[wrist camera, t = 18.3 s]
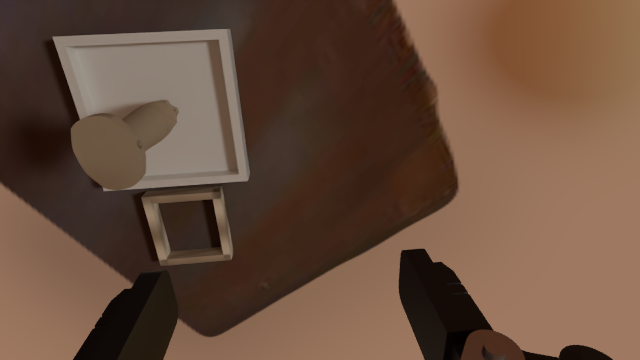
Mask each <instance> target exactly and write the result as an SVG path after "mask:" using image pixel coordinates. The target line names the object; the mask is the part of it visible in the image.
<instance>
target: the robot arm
mask: <svg viewBox="0 0 640 360" xmlns="http://www.w3.org/2000/svg"><path fill="white" fill-rule="evenodd" d="M400 259H401V260H400V274H399V294H400V299H401V302H402V305H403V308H404V310H405V313H406V315H407V317H408V320H409V322H410V324H411V327H412V329H413V332H414V334H415V337H416V339H417V342H418V344H419V347H420V349H421V351H422V354H423V356H424V359H425V360H613V359H612V358H610V357H609V356H607V355H605V354H603V353H602V352H600V351H598V350H595V349H593V348H590V347H587V346H581V345H570V346H567V347H565V348H563V349H562V350H561V352H560V355H559V358H557V357H552V356H546V355H541V354H535V353H530V352H526V351H523V350H521V349H520V347H519V346H518V345H517V344H516V343H515V342H514V341H513V340H511V339H510V338H508V337H507V336H505V335H503V334H501V333H499V332H496V331H494V330H493V329H492V328H491V326H490V324H489V323H488V322H487V320H486V319H485V317H484V316H483V314H482V313H481V311H480V310H479V308H478V307H477V305H476V304H475V302H474V301H473V299H472V298H471V296H470V295H469V294H468V292H467V290H466V289H465V287H464V286H463V285H462V284H461V282H460V280H459V278H458V277H457V276H456V274H455V273H454V271H453V270H451V269H450V268H449V267H447V266H446V265H444V264H443V263H442V262H435V263H433V262H432V260H431V258H430V257H429V255H428V254H427V252H426V250H425V249H413V250H403V251H402V252H401V258H400ZM177 320H178V304H177V300H176V297H175V293H174V290H173V286H172V282H171V279H170V275H169V273H168V271H167V270H159V271H147V272H142V273H140V275H139V276H138V278H137V280H136V281H135V283H134V285H133V286H132V288H131V289H124V290H123V291H122V292H121V293H120V294H118V295H117V296H116V297H115V298H114V299H113V300H112V301H111V302H110V303H109V305H108V306H107V308H106V309H105V311H104V312H103V314H102V317H100V319H99V320H98V322H97V323H96V325H95V328H94V329H92V331H91V332H90V334H89V336H88V337H87V339H86V340H85V342H84V343H83V345H82V346H81V348H80V350H79V351H78V353H77V354H76V356H75V357H74V359H73V360H163V358H164V356H165V353H166V350H167V348H168V345H169V342H170V340H171V337H172V334H173V332H174V329H175V326H176V324H177Z"/></svg>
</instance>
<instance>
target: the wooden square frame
mask: <svg viewBox="0 0 640 360" xmlns="http://www.w3.org/2000/svg"><path fill="white" fill-rule="evenodd" d="M141 199H142V202H143V206H144V209H145V213H146V216H147V220H148V223H149V227H150V230H151V234H152V237H153V241H154V244H155V248H156V251H157V255H158V258H159V262H160V265H161V266H165V265H176V264H188V263H200V262H212V261H224V260H231V259H232V255H233V247H232V241H231V235H230V230H229V224H228V218H227V213H226V207H225V201H224V196H223V190H222V185H221V186H207V187H193V188H179V189H165V190H152V191H146V192H145V194H144V195H143V196H142V197H141ZM208 199H213V204H214V209H215V214H216V219H217V225H218V230H219V235H220V240H221V246H222V247H215V248H203V249H191V250H179V251H171V250H170V247H169V243H168V239H167V235H166V232H165V228H164V224H163V220H162V217H161V213H160V209H159V205H158V203H168V202H181V201H195V200H208Z"/></svg>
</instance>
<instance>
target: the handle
mask: <svg viewBox="0 0 640 360" xmlns="http://www.w3.org/2000/svg"><path fill="white" fill-rule="evenodd" d="M178 113H179V110H178V108H177V107H174V106H172V105H171V104H170V103H169V101H168V100H162V101H160V102H151V103H148V104H145V105H142V106H140V107H139V108H137V109H135V110H134V111H132V112H131V113H130V114H128V115H127V116H126V117H125V118H123V119H121V118H119V117H118V116H116V115H113V114H108V113H99V114H94V115H91V116H88V117H85V118H83V119H81V120H79V121H77V122H76V123H75V124H74V125H73V126H72V128H71V141H72V148H73V152H74V154H75V156H76V158H77V159H78V161H79V163H80V165H81V166H82V168H83V169H84V171H85V172H86V173H87V174H88V175H89V176H90V177H91V178H92V179H93V180H95V181H96V182H97V183H98V184H100V185H101V186H102V187H104V188H106V189H110V190H122V189H127V188H130V187H132V186H134V185H136V184H137V183H138V182H139V181H140V180H141V179H142V178H143V176H144V175H145V173H146V153H145V151H147V150H148V149H150V148H151V147H153V146H154V145H156V144H157V143H159V142H160V141H162V140H163V139H164V138H165V137H166V136H167V135H168V134H169V133H170V132H171V130H172V129H173V127H174V126H175V125H176V123H177V115H178Z"/></svg>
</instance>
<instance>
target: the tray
mask: <svg viewBox="0 0 640 360" xmlns="http://www.w3.org/2000/svg"><path fill="white" fill-rule="evenodd" d="M53 40H54V43H55V46H56V49H57V52H58V55H59V58H60V61H61V64H62V67H63V70H64V73H65V76H66V79H67V82H68V85H69V88H70V91H71V94H72V97H73V100H74V103H75V106H76V109H77V112H78V115H79V118H80V120H81V119H83V118H85V117H88V116H91V115H94V114H99V113H108V114H113V115H116V116H118V117H119V118H121V119H123V118H125V117H126V116H127V115H128V114H130V113H131V112H132V111H134V110H135V109H137V108H139V107H140V106H142V105H145V104H148V103H151V102H160V101H162V100H168V101H169V103H170V104H171V105H172V106H174V107H177V108H178V110H179V113H178V115H177V123H176V125H175V126H174V127H173V129H172V130H171V132H170V133H169V134H168V135H167V136H166V137H165V138H164V139H163V140H162V141H160V142H159V143H157V144H156V145H154V146H153V147H151V148H150V149H148V150H147V151H145V153H146V173H145V175H144V176H143V178H142V179H141V180H140V181H139V182H138V183H137V184H136V185H134V186H132V187H130V188H127V189H141V188H155V187H169V186H183V185H197V184H211V183H225V182H239V181H248V178H249V174H250V171H249V164H248V157H247V149H246V142H245V135H244V127H243V120H242V113H241V105H240V98H239V90H238V83H237V76H236V68H235V61H234V54H233V46H232V39H231V32H230V29H216V30H194V31H171V32H149V33H127V34H104V35H82V36H60V37H53ZM127 189H122V190H127ZM103 190H104V191H113V190H110V189H106V188H104V187H103Z"/></svg>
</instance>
